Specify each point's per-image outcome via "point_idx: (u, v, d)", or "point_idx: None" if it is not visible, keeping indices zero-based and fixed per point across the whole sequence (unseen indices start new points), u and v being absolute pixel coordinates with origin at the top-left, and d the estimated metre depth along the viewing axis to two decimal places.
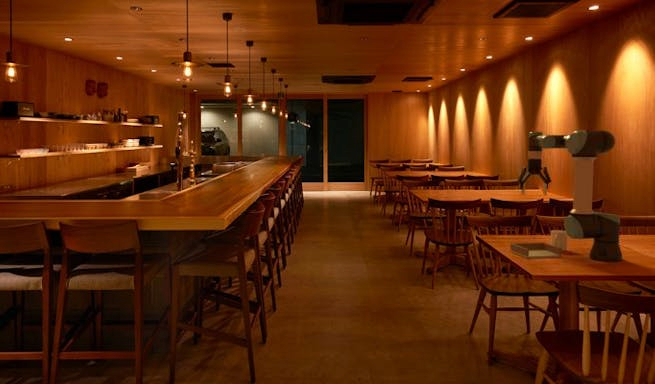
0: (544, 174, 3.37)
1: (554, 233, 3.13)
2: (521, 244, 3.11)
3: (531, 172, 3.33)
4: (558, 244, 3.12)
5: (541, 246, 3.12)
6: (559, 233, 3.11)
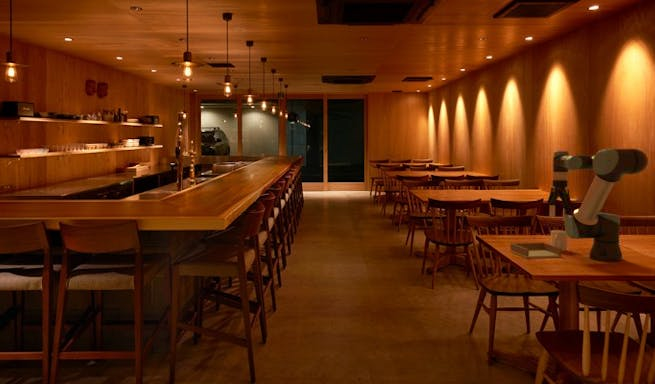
0: None
1: (554, 233, 3.13)
2: (521, 244, 3.11)
3: (553, 193, 3.14)
4: (558, 244, 3.12)
5: (541, 246, 3.12)
6: (559, 233, 3.11)
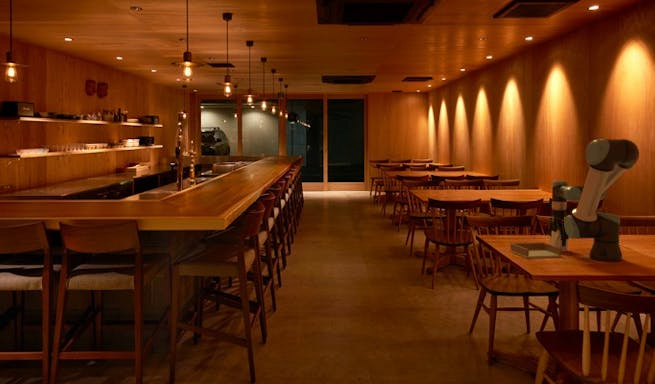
0: None
1: (555, 233, 3.12)
2: (521, 244, 3.11)
3: (553, 223, 3.15)
4: (559, 244, 3.11)
5: (541, 246, 3.12)
6: None
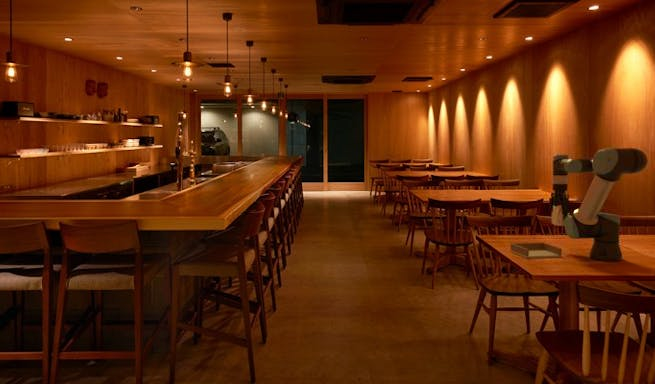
0: None
1: (556, 208, 3.10)
2: (521, 244, 3.11)
3: (554, 198, 3.13)
4: (560, 219, 3.09)
5: (541, 246, 3.12)
6: None
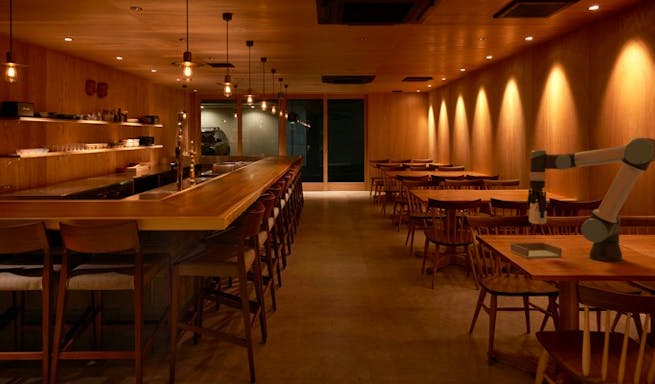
0: None
1: (533, 205, 3.00)
2: (521, 244, 3.11)
3: (531, 195, 3.03)
4: (537, 216, 2.99)
5: (541, 246, 3.12)
6: None
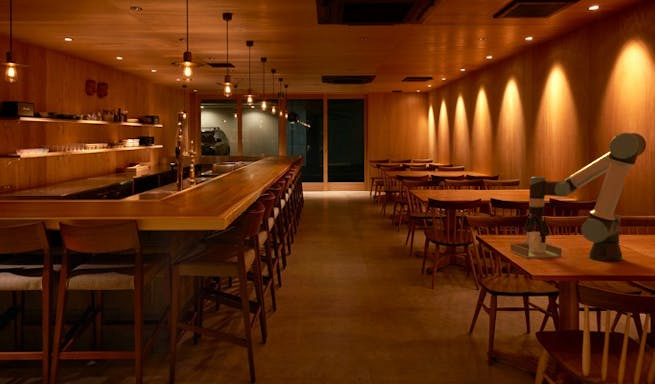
0: None
1: (532, 235, 3.01)
2: (521, 244, 3.11)
3: (530, 220, 3.04)
4: (536, 246, 3.00)
5: None
6: (537, 235, 2.99)
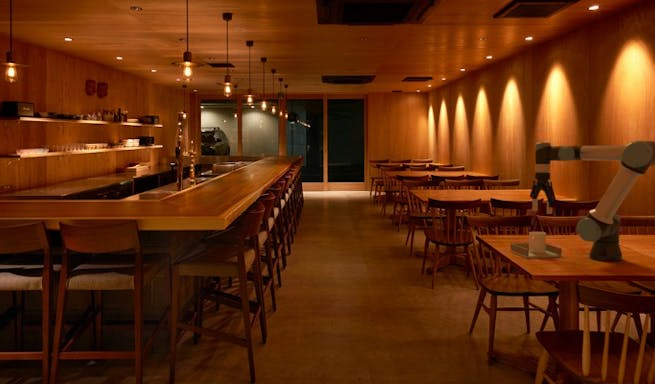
0: None
1: (532, 235, 3.01)
2: (521, 244, 3.11)
3: (536, 187, 3.05)
4: (536, 246, 3.00)
5: None
6: (537, 235, 2.99)
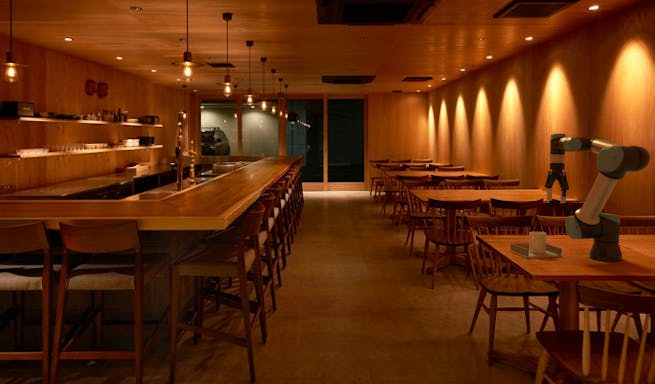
0: None
1: (532, 235, 3.01)
2: (521, 244, 3.11)
3: (551, 176, 3.13)
4: (536, 246, 3.00)
5: None
6: (537, 235, 2.99)
